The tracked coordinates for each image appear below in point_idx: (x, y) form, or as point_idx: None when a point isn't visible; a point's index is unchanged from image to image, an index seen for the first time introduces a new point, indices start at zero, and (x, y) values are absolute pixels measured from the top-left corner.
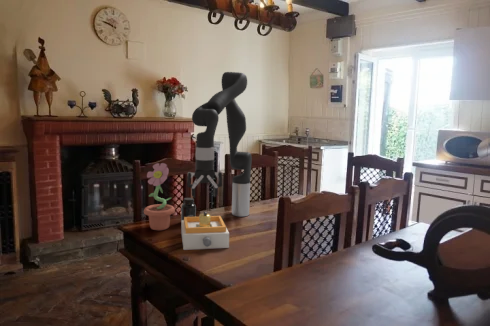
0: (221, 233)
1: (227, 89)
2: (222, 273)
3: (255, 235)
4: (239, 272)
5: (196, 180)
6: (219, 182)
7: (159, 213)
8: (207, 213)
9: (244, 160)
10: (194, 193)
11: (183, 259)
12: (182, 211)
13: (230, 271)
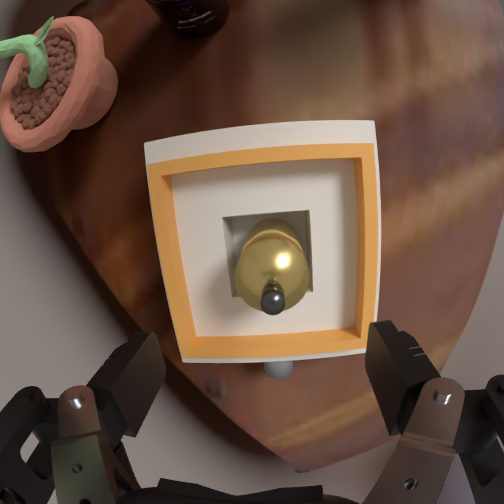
0: (340, 355)
1: None
2: (302, 448)
3: (468, 197)
4: (339, 444)
5: (80, 477)
6: (472, 477)
7: (39, 147)
8: (290, 247)
9: None
10: (145, 399)
11: (207, 391)
12: (151, 7)
13: (322, 442)
